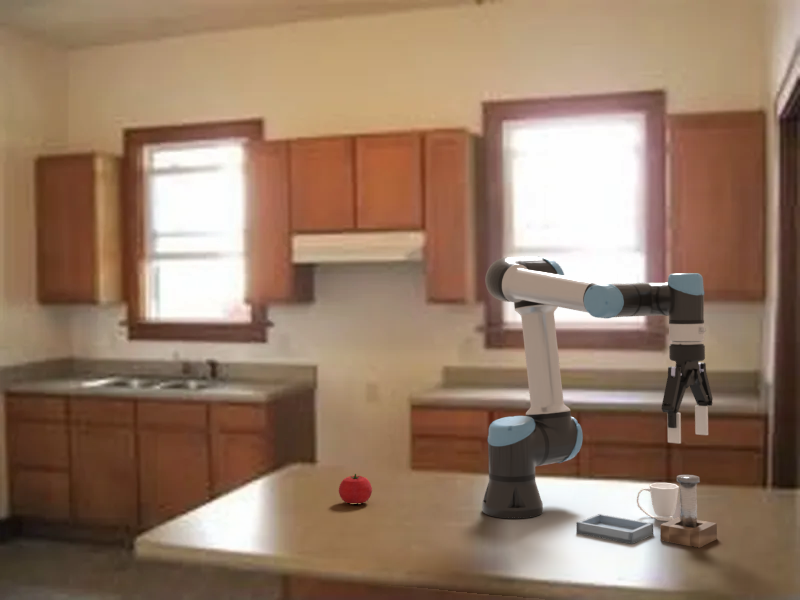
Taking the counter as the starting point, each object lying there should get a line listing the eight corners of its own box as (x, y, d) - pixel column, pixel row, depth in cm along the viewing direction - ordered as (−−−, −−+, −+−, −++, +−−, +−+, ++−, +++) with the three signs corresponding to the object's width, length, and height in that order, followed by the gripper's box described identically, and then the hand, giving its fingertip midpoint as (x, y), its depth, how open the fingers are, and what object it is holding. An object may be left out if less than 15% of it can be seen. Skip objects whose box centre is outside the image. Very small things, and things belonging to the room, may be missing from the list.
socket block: (660, 540, 205) (660, 524, 205) (678, 532, 212) (678, 516, 211) (699, 547, 199) (699, 531, 199) (716, 538, 205) (716, 523, 205)
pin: (673, 540, 205) (673, 477, 205) (683, 535, 209) (682, 473, 208) (694, 544, 202) (693, 480, 202) (703, 539, 205) (703, 476, 205)
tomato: (378, 502, 245) (378, 472, 245) (359, 509, 238) (359, 478, 238) (351, 498, 250) (351, 469, 250) (332, 505, 242) (331, 475, 242)
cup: (677, 523, 219) (677, 489, 219) (634, 519, 223) (634, 486, 223) (681, 516, 225) (680, 483, 225) (639, 513, 229) (639, 480, 229)
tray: (576, 533, 212) (576, 522, 212) (599, 524, 219) (598, 513, 219) (631, 544, 202) (631, 532, 202) (653, 534, 210) (653, 523, 210)
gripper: (677, 346, 193) (678, 448, 193) (726, 340, 211) (728, 432, 211) (644, 345, 198) (645, 444, 198) (695, 339, 216) (697, 429, 216)
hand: (688, 438), depth 205 cm, fingers open, 13 cm apart
